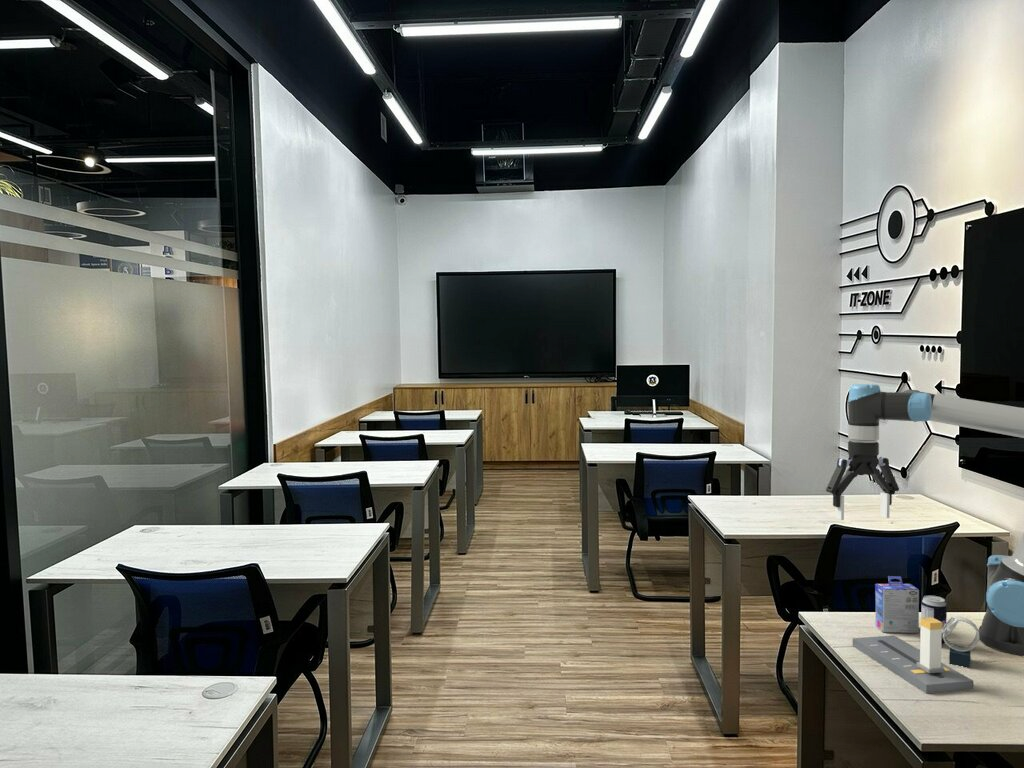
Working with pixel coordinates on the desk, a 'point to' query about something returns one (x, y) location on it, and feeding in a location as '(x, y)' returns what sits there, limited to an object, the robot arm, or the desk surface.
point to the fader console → (911, 664)
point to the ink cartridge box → (897, 607)
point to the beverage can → (934, 610)
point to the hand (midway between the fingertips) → (862, 517)
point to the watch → (957, 653)
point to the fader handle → (930, 645)
